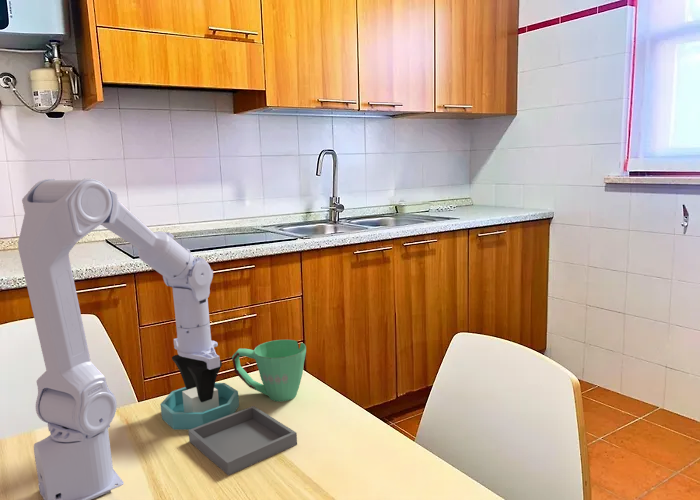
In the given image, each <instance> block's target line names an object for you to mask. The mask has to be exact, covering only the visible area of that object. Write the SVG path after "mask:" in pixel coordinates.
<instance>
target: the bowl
mask: <svg viewBox="0 0 700 500" xmlns="http://www.w3.org/2000/svg"><path fill="white" fill-rule="evenodd" d="M214 388H216V389H217V390H218V398H219V406H218V407H215V408H213V409H210V410H207V411H204V412H184V405H183V395H182V391H185V390H187V389H186V387H185V386H184V387H181V388H178V389H175V390H172V391H171V392H170V393H169V394H168V395H167V396H166V397H165V398H164V400H163V401H161V402H160V414H161V420H162V421H164V422H165V423H166V424H167V425H168V426H169V427H170V428H172V430H187V431H188V430H190V429H193V428H195V427H198V426H201V425H203V424H206V423H209V422H211V421H214V420H217V419H219V418H222V417H225V416H227V415H230V414H233V413H235V412H237V410H238V409H239V407H240V400H239V399H240V398H239V391H238V390H236V389H235V388H234V387H232V386H231V385H229V384H227V383H226V382H215V386H214Z"/></svg>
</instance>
